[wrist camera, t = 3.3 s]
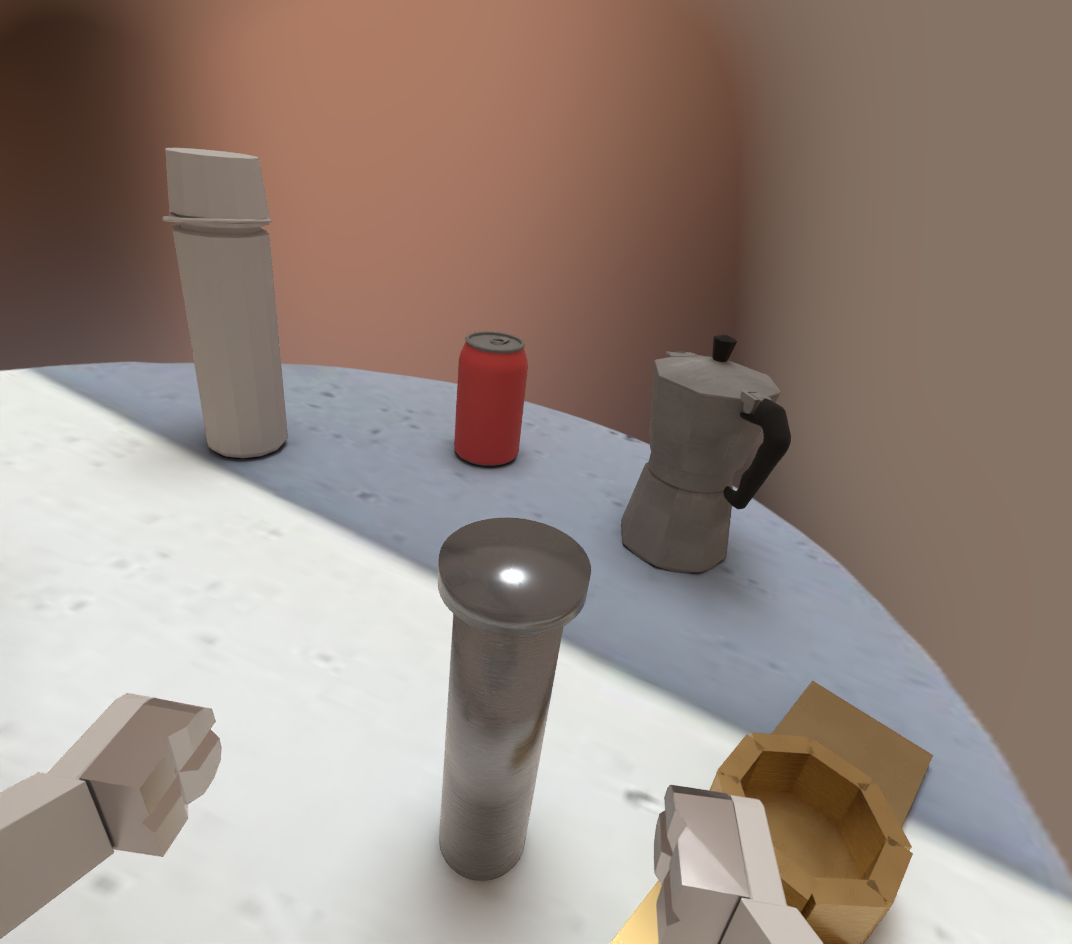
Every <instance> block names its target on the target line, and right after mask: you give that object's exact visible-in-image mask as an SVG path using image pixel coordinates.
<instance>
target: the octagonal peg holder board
mask: <svg viewBox="0 0 1072 944" xmlns="http://www.w3.org/2000/svg"><path fill="white" fill-rule="evenodd" d="M932 756H933V755H932V754H930V753H929V752H927V751H925V750H924V749H922V748H921V747H919V746H917V745H916V744H914V743H912V742H911V741H909V740H908V739H906V738H904V737H903V736H901V735H900V734H898V733H896V732H895V731H893V730H891V729H890V728H888V727H887V726H885V725H883V724H882V723H880V722H879V721H877V720H875V719H874V718H872V717H870V716H869V715H867V714H866V713H864V712H862V711H861V710H859V709H857V708H856V707H854V706H853V705H851V704H849V703H848V702H846V701H845V700H843V699H841V698H840V697H838V696H836V695H835V694H833V693H832V692H830V691H828V690H827V689H825V688H823V687H822V686H820V685H819V684H817V683H815V682H814V681H812V682H811V683H810V685H809V686H808V687H807V689H806V690H805V691H804V692H803V694H802V695H801V696H800V698H799V699H798V700H797V702H796V703H795V704H794V705H793V707H792V708H791V709H790V711H789V712H788V713H787V714H786V716H785V717H784V718H783V720H782V721H781V722H780V724H779V725H778V726H777V727H776V729H775V730H774V731H773V733H772V734H761V733H751V735H750V737H749V736H748V735H746V736H745V737H744V738H743V740H742V741H741V742H740V743H739V744H738V746H737V747H736V748H735V749H734V751H733V752H732V753H731V754H730V755H729V757H728V758H727V759H726V760H725V762H724V763H723V764H722V765H721V766H720V768H719V769H718V771H717V773H716V776H715V778H714V781H713V783H712V786H711V788H710V791H715V792H721V793H727V794H728V795H733V796H740V797H747V798H754V799H758V800H760V801H761V803H762V804H763V806H764V808H765V813H766V817H767V821H768V826H769V830H770V834H771V839H772V843H773V847H774V852H775V856H776V860H777V865H778V869H779V873H780V877H781V882H782V886H783V890H784V895H785V899H786V903H787V906H790V907H795V908H797V909H798V910H799V912H800V913H801V914H802V916H803V917H804V918H805V920H806V921H807V922H808V924H809V925H810V926H811V928H812V929H813V930H814V932H815V933H816V934H817V936H818V937H819V938H820V940H821V941H822V942H823V944H861V943H862V941H863V942H865V941H866V940H867V938H868V937H869V936H870V934H871V933H872V932H873V930H874V929H875V928H876V926H877V925H878V923H879V922H880V921H881V919H882V918H883V917H884V915H885V914H886V913H887V911H888V910H889V908H890V907H891V906H892V904H893V902H894V899H895V897H896V894H897V892H898V889H899V887H900V884H901V882H902V879H903V877H904V874H905V872H906V869H907V867H908V864H909V862H910V859H911V857H912V854H913V853H911V852H910V851H909V850H910V849H911V847H912V846H911V845H910V843H909V841H908V839H907V837H906V835H905V834H904V832H903V830H902V828H901V827H902V825H903V823H904V821H905V818H906V816H907V814H908V811H909V809H910V807H911V805H912V802H913V800H914V798H915V795H916V793H917V791H918V789H919V786H920V784H921V782H922V779H923V777H924V775H925V773H926V770H927V768H928V766H929V763H930V761H931V759H932ZM661 886H662V885H661V883H660V882H659V881H658V882H657V883H656V884H655V886H654V887H653V888H652V890H651V891H650V892H649V894H648V895H647V896H646V897H645V899H644V900H643V901H642V903H641V904H640V905H639V906H638V908H637V909H636V910H635V912H634V913H633V914H632V916H631V917H630V918H629V919H628V921H627V922H626V923H625V925H624V926H623V927H622V929H621V930H620V931H619V932H618V934H617V935H616V936H615V938H614V939H613V940H612V942H611V943H610V944H658V927H657V910H656V902H657V899H658V896H659V892H660V889H661Z"/></svg>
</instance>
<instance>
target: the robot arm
mask: <svg viewBox="0 0 1072 944" xmlns="http://www.w3.org/2000/svg"><path fill="white" fill-rule="evenodd" d="M215 722H216V721H215V717H214V714H213V710H212V709H211V708H206V707H200V706H195V705H189V704H184V703H179V702H173V701H168V700H162V699H157V698H153V697H147V696H141V695H135V694H129V693H127V694H125V695H123V696H121V697H120V698H118V699H116V700H115V701H114V702H113V703H112V704H111V705H110V706H109V707H108V709H107V710H106V711H105V712H104V713H103V714H102V715H101V716H100V717H99V718H98V719H97V720H96V721H95V722H94V724H93V725H92V726H91V727H90V728H89V729H88V730H87V731H86V732H85V733H84V734H83V735H82V736H81V738H80V739H79V740H78V741H77V742H76V743H75V744H74V745H73V746H72V747H71V748H70V749H69V750H68V751H67V753H66V754H65V755H64V756H63V757H62V758H61V759H60V760H59V761H58V762H57V763H56V764H55V765H54V767H53V768H52V769H51V770H50V771H49V772H48V773H47V774H46V773H39V772H38V773H37V774H35V775H33V776H31V777H29V778H27V779H25V780H23V781H21V782H19V783H18V784H16V785H14V786H12V787H10V788H8V789H6V790H4V791H2V792H0V939H1V938H2V937H4V936H5V935H6V934H8V933H9V932H10V931H12V930H13V929H14V928H16V927H17V926H18V925H19V924H21V923H22V922H23V921H25V920H26V919H27V918H29V917H30V916H31V915H33V914H34V913H35V912H37V911H38V910H39V909H41V908H42V907H43V906H44V905H46V904H47V903H48V902H50V901H51V900H52V899H54V898H55V897H56V896H58V895H59V894H60V893H62V892H63V891H64V890H66V889H67V888H68V887H70V886H71V885H72V884H73V883H75V882H76V881H77V880H79V879H80V878H81V877H83V876H84V875H85V874H87V873H88V872H89V871H91V870H92V869H93V868H95V867H96V866H97V865H98V864H100V863H101V862H102V861H104V860H105V859H106V858H108V857H109V856H110V855H112V854H113V853H114V850H121V851H128V852H134V853H141V854H147V855H154V856H160V857H163V856H164V855H165V853H166V852H167V850H168V848H169V847H170V845H171V844H172V842H173V841H174V839H175V838H176V836H177V835H178V833H179V832H180V830H181V829H182V827H183V826H184V824H185V823H186V821H187V819H188V804H189V803H191V802H192V801H194V800H195V799H197V798H198V797H200V796H202V795H203V794H204V793H205V792H206V790H207V788H208V787H209V785H210V784H211V782H212V780H213V779H214V777H215V774H216V771H217V769H218V766H219V763H220V760H221V749H222V747H221V743H220V738H219V737H218V736H217V735H216V734H215V733H214V732H213V731H212V730H211V727H212V726H213V725H214V723H215ZM664 799H665V811H663V812H662V813H660V814H659V817H658V821H657V825H656V832H655V840H654V871H655V875H656V877H657V878H658V880H659V882H660V883H661V885H662V886H661V889H660V892H659V896H658V899H657V902H656V910H657V927H658V944H823V942H822V941H821V940H820V938H819V937H818V936H817V934H816V933H815V932H814V930H813V929H812V928H811V926H810V925H809V924H808V922H807V921H806V920H805V918H804V917H803V916H802V914H801V913H800V912H799V910H798V909H797V908H795V907H790V906H787V903H786V899H785V895H784V890H783V886H782V882H781V877H780V873H779V869H778V865H777V860H776V856H775V852H774V847H773V843H772V839H771V834H770V830H769V826H768V821H767V817H766V813H765V808H764V806H763V804H762V803H761V801H760V800H758V799H754V798H747V797H740V796H733V795H728V794H727V793H721V792H715V791H708V790H702V789H695V788H688V787H682V786H675V785H670V786H669V787H668V788H667V791H666V794H665V797H664ZM113 849H114V850H113Z"/></svg>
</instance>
